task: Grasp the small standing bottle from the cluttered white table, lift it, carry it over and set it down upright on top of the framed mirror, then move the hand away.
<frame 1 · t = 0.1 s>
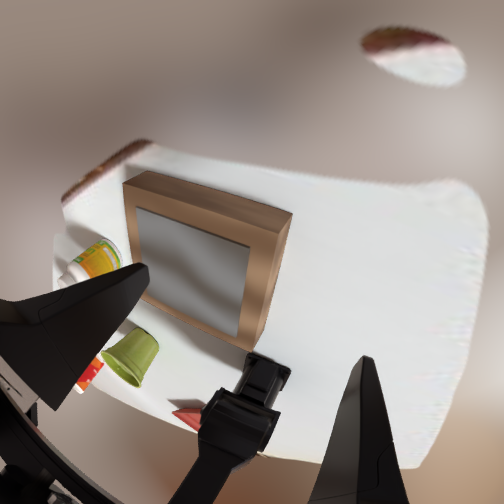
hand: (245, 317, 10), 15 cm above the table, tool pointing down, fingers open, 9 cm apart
supplement bottle: (112, 252, 39), on the table
paper cup: (98, 358, 78), on the table
plant pot: (147, 338, 50), on the table
framed mirror: (207, 255, 30), on the table
plant saucer: (218, 422, 63), on the table
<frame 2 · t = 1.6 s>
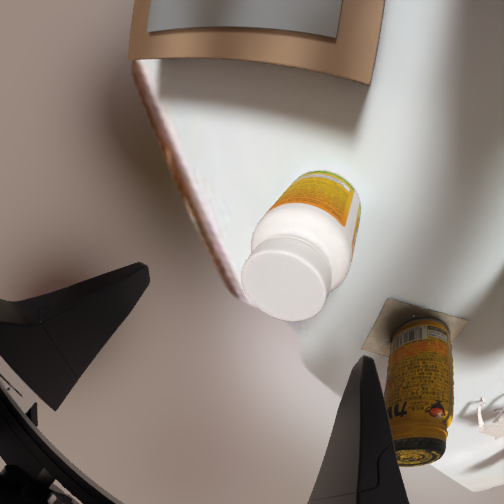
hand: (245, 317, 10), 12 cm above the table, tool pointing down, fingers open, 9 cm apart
supplement bottle: (324, 203, 20), on the table
condiment: (413, 333, 22), on the table
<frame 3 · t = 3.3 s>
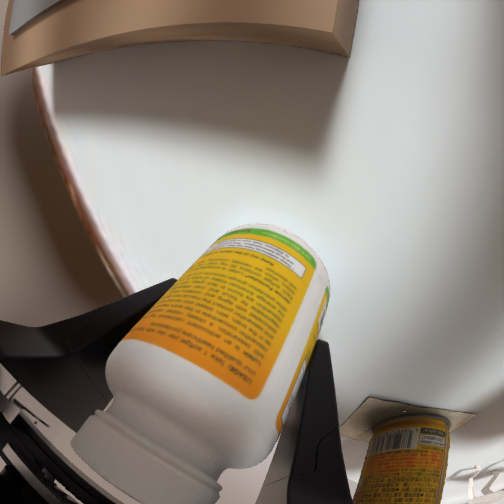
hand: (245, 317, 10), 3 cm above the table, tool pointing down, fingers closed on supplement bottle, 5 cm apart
supplement bottle: (271, 274, 12), on the table, touching gripper
condiment: (403, 424, 15), on the table
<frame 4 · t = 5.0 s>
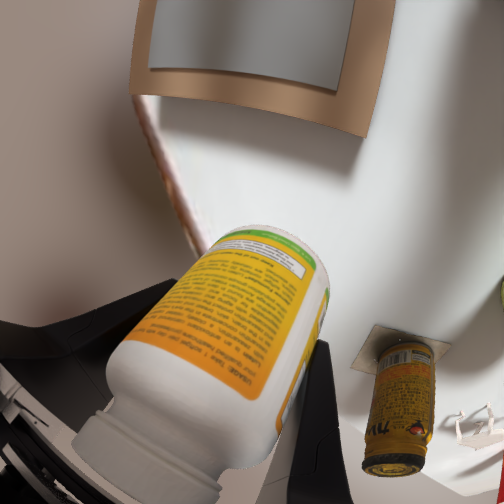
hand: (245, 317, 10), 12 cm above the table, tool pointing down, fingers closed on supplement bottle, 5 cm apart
supplement bottle: (271, 275, 12), point 9 cm above the table, touching gripper
condiment: (399, 355, 24), on the table
miniature table: (491, 410, 22), on the table
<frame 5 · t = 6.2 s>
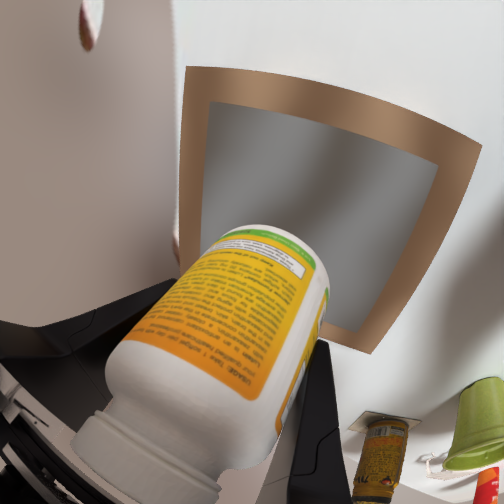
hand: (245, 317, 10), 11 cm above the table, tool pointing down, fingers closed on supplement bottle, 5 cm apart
supplement bottle: (271, 275, 12), point 8 cm above the table, touching gripper
paper cup: (489, 469, 29), on the table
plant pot: (482, 389, 20), on the table
framed mirror: (311, 202, 19), on the table
condiment: (383, 424, 30), on the table
miniature table: (458, 451, 28), on the table
when the fingers open (8 cm above the table, at t = 7.1 s): supplement bottle drops 1 cm, resting on framed mirror.
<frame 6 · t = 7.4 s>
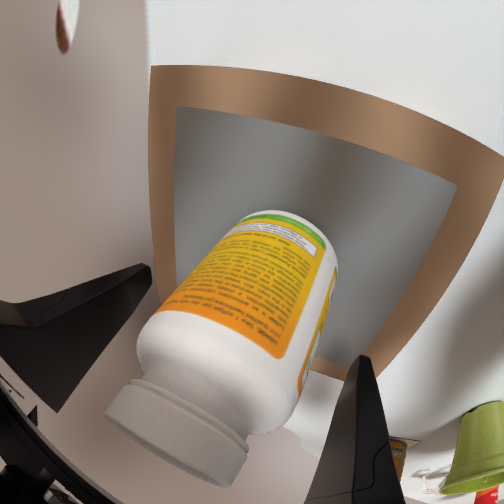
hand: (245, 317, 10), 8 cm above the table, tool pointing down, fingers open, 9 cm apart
supplement bottle: (283, 257, 13), point 4 cm above the table, touching framed mirror
paper cup: (488, 481, 26), on the table
plant pot: (485, 412, 18), on the table
framed mirror: (302, 221, 16), on the table
condiment: (381, 443, 27), on the table
miniature table: (456, 466, 26), on the table
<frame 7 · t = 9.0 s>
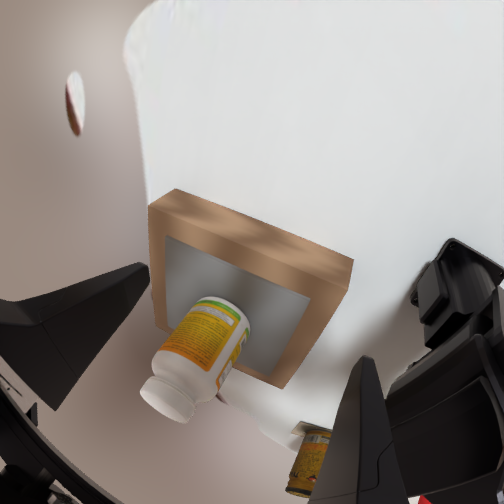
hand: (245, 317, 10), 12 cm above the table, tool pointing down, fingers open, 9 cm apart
supplement bottle: (224, 316, 24), point 4 cm above the table, touching framed mirror
paper cup: (433, 480, 41), on the table
framed mirror: (241, 289, 27), on the table
condiment: (319, 432, 40), on the table
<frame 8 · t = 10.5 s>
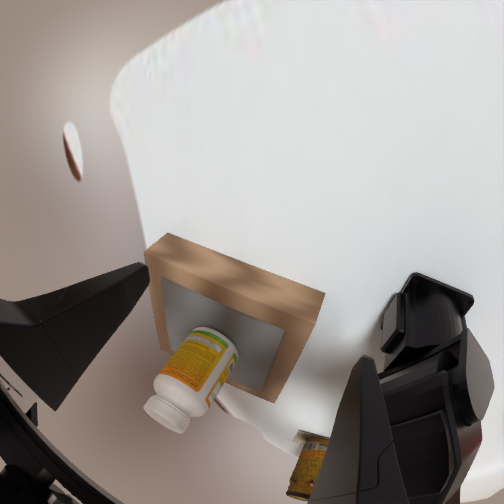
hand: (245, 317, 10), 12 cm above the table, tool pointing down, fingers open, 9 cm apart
supplement bottle: (216, 343, 27), point 4 cm above the table, touching framed mirror
framed mirror: (232, 317, 30), on the table
condiment: (318, 440, 41), on the table
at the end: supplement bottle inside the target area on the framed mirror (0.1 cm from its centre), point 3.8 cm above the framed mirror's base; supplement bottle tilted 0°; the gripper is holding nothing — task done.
